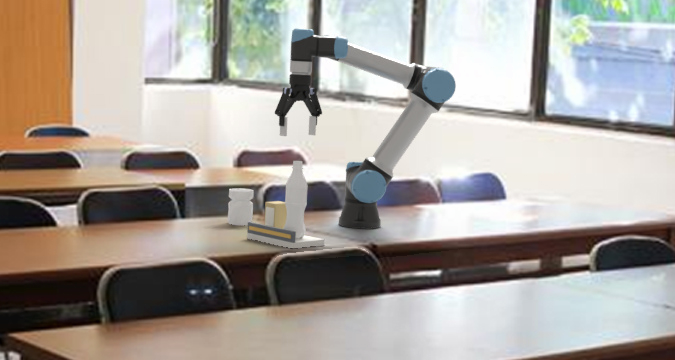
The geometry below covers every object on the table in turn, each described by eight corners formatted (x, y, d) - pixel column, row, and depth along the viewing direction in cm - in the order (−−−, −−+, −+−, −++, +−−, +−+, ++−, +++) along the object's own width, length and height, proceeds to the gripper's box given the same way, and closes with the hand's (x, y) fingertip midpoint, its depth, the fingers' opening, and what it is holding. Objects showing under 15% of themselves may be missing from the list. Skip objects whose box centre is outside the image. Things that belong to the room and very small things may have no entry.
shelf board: (278, 235, 433) (279, 219, 432) (324, 245, 417) (325, 228, 417) (246, 238, 423) (247, 222, 422) (291, 249, 407) (292, 232, 407)
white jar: (251, 226, 450) (252, 192, 449) (226, 224, 450) (227, 190, 449) (253, 222, 459) (254, 189, 458) (228, 221, 459) (230, 187, 458)
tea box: (277, 230, 430) (278, 201, 429) (287, 232, 427) (289, 203, 425) (263, 232, 426) (265, 202, 425) (273, 234, 422) (275, 204, 421)
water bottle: (280, 238, 414) (284, 161, 412) (286, 235, 421) (289, 159, 419) (302, 240, 413) (306, 162, 410) (307, 237, 420) (311, 160, 417)
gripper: (319, 73, 453) (316, 133, 456) (266, 72, 436) (263, 135, 438) (334, 74, 448) (331, 135, 451) (281, 74, 431) (278, 137, 433)
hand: (297, 135), depth 445 cm, fingers open, 13 cm apart
